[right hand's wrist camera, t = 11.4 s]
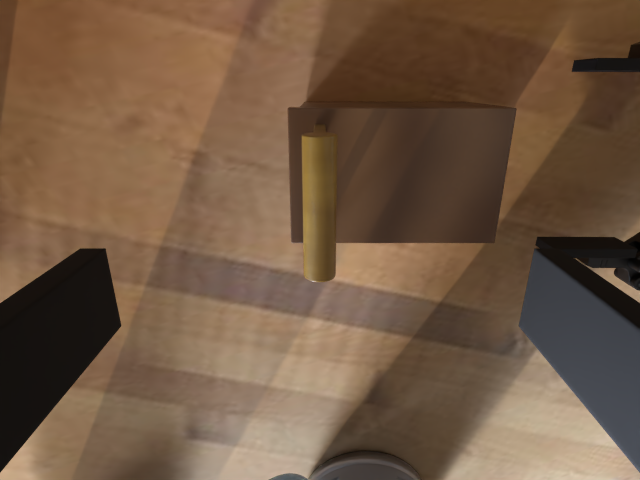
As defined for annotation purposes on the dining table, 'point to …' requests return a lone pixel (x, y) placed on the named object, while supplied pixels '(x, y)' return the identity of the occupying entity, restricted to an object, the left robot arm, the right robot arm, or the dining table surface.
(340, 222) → the lid
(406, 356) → the dining table surface
